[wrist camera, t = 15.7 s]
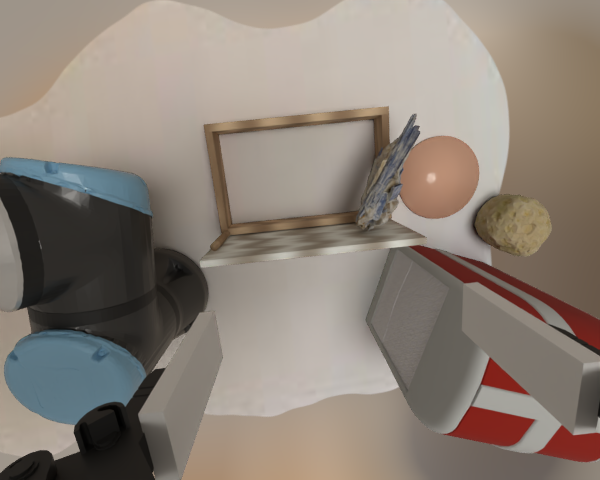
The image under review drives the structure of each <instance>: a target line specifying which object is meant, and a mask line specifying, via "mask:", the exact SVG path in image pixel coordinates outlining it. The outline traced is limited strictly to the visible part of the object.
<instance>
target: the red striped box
mask: <svg viewBox="0 0 600 480" xmlns="http://www.w3.org/2000/svg"><path fill="white" fill-rule="evenodd" d="M475 282H478V283H480V284H481V285H483V286H485V287H486V288H488V289H490V290H491V291H493V292H495V293H496V294H498V295H500V296H501V297H503V298H505V299H506V300H508V301H509V302H511V303H513V304H514V305H516V306H518V307H519V308H521V309H523V310H524V311H526V312H528V313H529V314H531V315H533V316H534V317H536V318H538V319H539V320H541V321H543V322H544V323H546V324H551V325H553V326H556V327H559V328H561V329H564V330H566V331H568V332H570V333H571V334H573V335H575V336H577V337H578V339H582V340H583V341H585V342H587V343H588V344H589V345H592V346H594V347H595V348H597V349H599V350H600V319H598V318H596V317H594V316H593V315H590V314H589V313H586V312H584V311H582V310H580V309H578V308H576V307H574V306H572V305H570V304H568V303H566V302H564V301H562V300H560V299H558V298H556V297H553V296H551V295H549V294H547V293H545V292H543V291H541V290H539V289H537V288H535V287H533V286H531V285H529V284H527V283H525V282H523V281H521V280H518V279H516V278H514V277H512V276H510V275H508V274H506V273H504V272H502V271H500V270H498V269H496V268H494V267H492V266H490V265H488V264H486V263H484V262H480V261H476V260H473V259H469V258H465V257H461V256H458V255H454V254H451V253H449V252H447V251H443V250H440V249H431V248H428V247H424V246H420V245H414V246H404V247H395V248H391V249H390V252H389V255H388V258H387V261H386V264H385V266H384V269H383V272H382V275H381V278H380V281H379V283H378V286H377V289H376V292H375V295H374V298H373V300H372V303H371V306H370V309H369V312H368V315H367V318H366V322H367V324H368V326H369V328H370V330H371V332H372V334H373V336H374V338H375V340H376V342H377V344H378V346H379V348H380V350H381V352H382V353H383V355H384V357H385V359H386V361H387V363H388V365H389V367H390V369H391V371H392V373H393V375H394V377H395V379H396V381H397V383H398V385H399V387H400V389H401V391H402V393H403V395H404V397H405V399H406V401H407V403H408V405H409V406H410V408H411V410H412V411H413V413H414V414H415V416H416V417H417V418H418V419H419V420H420V421H421V422H422V423H423V424H424V425H425V426H426V427H427V428H429V429H431V430H432V431H434V432H437V433H440V434H444V435H449V436H454V437H459V438H464V439H469V440H474V441H479V442H484V443H489V444H492V445H494V446H496V447H499V448H502V449H506V450H511V451H516V452H521V453H538V454H543V455H548V456H553V457H558V458H563V459H568V460H573V461H578V462H589V463H590V462H596V461H600V418H599V417H598V423H597V429H596V433H588V434H580V435H573V434H572V433H570V432H569V431H568V430H567V429H566V428H565V427H564V426H563V425H562V424H561V423H560V422H559V421H558V420H557V419H556V418H554V417H553V416H552V415H551V414H550V413H549V412H548V411H547V410H546V409H545V408H544V407H543V406H542V405H541V404H540V403H538V402H537V401H536V400H535V399H534V398H533V397H532V396H531V395H530V394H529V393H528V392H527V391H526V390H525V389H524V388H522V387H521V386H520V385H519V384H518V383H517V382H516V381H515V380H514V379H513V378H512V377H511V376H510V375H509V374H508V373H506V372H505V371H504V370H503V369H502V368H501V367H500V366H499V365H498V364H497V363H496V362H495V361H494V360H493V359H491V358H490V357H489V356H488V355H487V354H486V353H485V352H484V351H483V350H482V349H481V348H480V347H479V346H478V345H477V344H475V343H474V342H473V341H472V340H471V339H470V338H469V337H468V336H467V335H466V334H465V333H464V332H463V331H462V306H463V284H466V283H475Z"/></svg>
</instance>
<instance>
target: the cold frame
mask: <svg viewBox="0 0 600 480" xmlns="http://www.w3.org/2000/svg"><path fill="white" fill-rule="evenodd" d="M370 119H374V134H375V159H376V158H377V156H378V154H379V151H380V150H381V148H383V150H384V149H385V147H386V146H387V145H389V144H390V140H389V106H388V107H377V108H367V109H357V110H347V111H337V112H327V113H317V114H307V115H297V116H286V117H276V118H266V119H256V120H246V121H236V122H226V123H216V124H206V125H204V130H205V136H206V142H207V148H208V154H209V160H210V166H211V172H212V178H213V184H214V191H215V197H216V203H217V209H218V215H219V221H220V227H221V233H222V234H221V235H220V236H219V237H218V238H217V239H216V240H215V241H214V242H213V243H212V244H211V246H210V248H211V250H210V251H209V252H208V253H207V254H206V255H205V256H204V257H203V258H202V259H201V260H200V266H201V268H205V267H215V266H224V265H234V264H243V263H253V262H262V261H272V260H281V259H290V258H300V257H309V256H319V255H328V254H338V253H347V252H357V251H366V250H376V249H385V248H395V247H404V246H414V245H423V244H427V237H425V236H423V235H421V234H419V233H417V232H415V231H413V230H411V229H409V228H407V227H405V226H403V225H401V224H399V223H397V222H395V221H393V220H391V218H392V216H391V214H390V215H389V219H388V222H386V223H385V224H383V225H381V226H379V225H375V226H374V228H373V229H370V230H369V231H368V229H367V226H366V227H365V228H364V230H363V229H362V228H361V227H357V224H356V217H357V214H358V212H359V211H355V212H345V213H335V214H326V215H316V216H306V217H297V218H287V219H277V220H268V221H258V222H248V223H239V224H232V219H231V212H230V206H229V199H228V193H227V186H226V180H225V173H224V167H223V161H222V154H221V148H220V141H219V134H229V133H239V132H249V131H260V130H270V129H280V128H290V127H300V126H310V125H320V124H330V123H340V122H350V121H360V120H370ZM383 150H382V151H383ZM381 154H382V153H381Z"/></svg>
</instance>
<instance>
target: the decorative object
mask: <svg viewBox="0 0 600 480" xmlns="http://www.w3.org/2000/svg"><path fill="white" fill-rule="evenodd" d="M474 227H475V228H476V229H477V232H478V235H479V236H480V237H481V238H482V239H483V240H484V241H485V242H486V243H488V244H489V245H491V246H493V247H495V248H497V249H499V250H501V251H505V252H507V253H510V254H512V255H517V256H529V255H531V254H533V253H534V252H537V251H538V248H539V247H540V246H541V245H542V243H543V242H544V241H545V240H546V239H547V237H548V236H549V234H550V232H551V230H552V227H551V221H550V217H549V214H548V212H547V210H546V209H545V208H544V206H543V205H542V204H540V203H539V202H538V201H537V200H535V199H534V198H527V197H524V196H521V195H510V194H504V195H498V196H497V197H493V198H491V199H490V200H489V201H487V202H486V203H485V204H484V205H483V206H482V207H481V209H480V211H479V212H478V214H477V217H476V221H475V224H474Z"/></svg>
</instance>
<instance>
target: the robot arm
mask: <svg viewBox="0 0 600 480" xmlns="http://www.w3.org/2000/svg"><path fill="white" fill-rule="evenodd" d="M0 173H1V174H0V310H2V311H4V312H12V311H16V310H19V309H23V308H26V307H27V309H28V314H29V320H30V325H31V334H29V335H27V336H26V337H24V338H22V339H21V340H20V341H19V342H18V343H17V344H16V346H15V348H14V350H13V351H12V352H11V353H10V354H9V355H8V356H7V359H6V361H5V365H4V376H5V380H6V383H7V385H8V387H9V389H10V391H11V393H12V394H13V395H14V397H15V398H16V399H17V400H18V401H19V402H20V403H21V404H22V405H24V406H25V407H26V408H28V409H29V410H30V411H32V412H35V413H37V414H39V415H41V416H42V417H44V418H46V419H49V420H52V421H55V422H59V423H64V424H72V425H75V428H74V435H75V438H76V441H77V443H78V446H79V449H80V452H78V453H75V454H72V455H69V456H66V457H64V458H61V459H58V460H55V461H54V459H53V456H52V453H50V452H49V451H47V450H40V451H36V452H33V453H30V454H28V455H26V456H24V457H22V458H20V459H18V460H16V461H15V462H13V463H12V464H11V465H9V466H8V467H7V468H5V470H3V471H2V472H1V473H0V480H155V479H156V480H181V478H182V475H183V472H184V470H185V467H186V464H187V461H188V458H189V455H190V452H191V449H192V446H193V443H194V440H195V437H196V435H197V432H198V429H199V426H200V423H201V420H202V417H203V414H204V411H205V408H206V405H207V402H208V400H209V397H210V394H211V391H212V388H213V385H214V382H215V379H216V376H217V373H218V370H219V367H220V364H221V361H222V359H223V355H222V349H221V344H220V339H219V333H218V328H217V322H216V317H215V311H210V312H204V310H205V308H206V305H207V301H208V287H207V283H206V280H205V278H204V276H203V274H202V272H201V271H200V269H199V268H198V267H197V266H196V264H195V263H193V262H192V261H191V260H190V259H189V258H187V257H186V256H184V255H182V254H180V253H178V252H175V251H172V250H168V249H154V246H153V234H152V221H151V217H153V212H152V211H151V209H150V201H149V193H148V188H147V185H146V183H145V182H144V181H143V179H141V178H140V177H139V176H137V175H135V174H132V173H128V172H123V171H117V170H111V169H104V168H97V167H90V166H82V165H75V164H66V163H55V162H48V161H40V160H34V159H24V158H13V157H9V158H8V157H6V158H3V159H2V160H1V163H0ZM187 331H188V333H187V334H186V336H185V338H184V339H183V341H182V343H181V344H180V346H179V348H178V349H177V351H176V353H175V354H174V356H173V357H172V359H171V361H170V362H169V364H168V366H167V367H166V368H162V369H155V370H154V371H153V372H152V370H153V369H154V367H155V366H156V364H157V363H158V361H159V360H160V358H161V357H162V355H163V354H164V352H165V351H166V349H167V348H168V346H169V345H170V343H171V342H172V340H174V339H175V338H177V337H179V336H181V335H183V334H184V333H186V332H187ZM462 331H463V332H464V333H465V334H466V335H467V336H468V337H469V338H470V339H471V340H472V341H473V342H474V343H475V344H477V345H478V346H479V347H480V348H481V349H482V350H483V351H484V352H485V353H486V354H487V355H488V356H489V357H490V358H491V359H493V360H494V361H495V362H496V363H497V364H498V365H499V366H500V367H501V368H502V369H503V370H504V371H505V372H506V373H508V374H509V375H510V376H511V377H512V378H513V379H514V380H515V381H516V382H517V383H518V384H519V385H520V386H521V387H522V388H524V389H525V390H526V391H527V392H528V393H529V394H530V395H531V396H532V397H533V398H534V399H535V400H536V401H537V402H538V403H540V404H541V405H542V406H543V407H544V408H545V409H546V410H547V411H548V412H549V413H550V414H551V415H552V416H553V417H554V418H556V419H557V420H558V421H559V422H560V423H561V424H562V425H563V426H564V427H565V428H566V429H567V430H568V431H569V432H570V433H572V434H573V435H580V434H588V433H596V429H597V423H598V417H599V418H600V350H599V349H597V348H595V347H594V346H592V345H589V344H588V343H587V342H585V341H583V340H582V339H578V337H577V336H575V335H573V334H571V333H570V332H568V331H566V330H564V329H561V328H559V327H556V326H553V325H551V324H546V323H544V322H543V321H541V320H539V319H538V318H536V317H534V316H533V315H531V314H529V313H528V312H526V311H524V310H523V309H521V308H519V307H518V306H516V305H514V304H513V303H511V302H509V301H508V300H506V299H505V298H503V297H501V296H500V295H498V294H496V293H495V292H493V291H491V290H490V289H488V288H486V287H485V286H483V285H481V284H480V283H478V282H475V283H466V284H463V306H462ZM151 372H152V373H151ZM153 471H154V475H155V478H154V476H153V474H152V472H153Z"/></svg>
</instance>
